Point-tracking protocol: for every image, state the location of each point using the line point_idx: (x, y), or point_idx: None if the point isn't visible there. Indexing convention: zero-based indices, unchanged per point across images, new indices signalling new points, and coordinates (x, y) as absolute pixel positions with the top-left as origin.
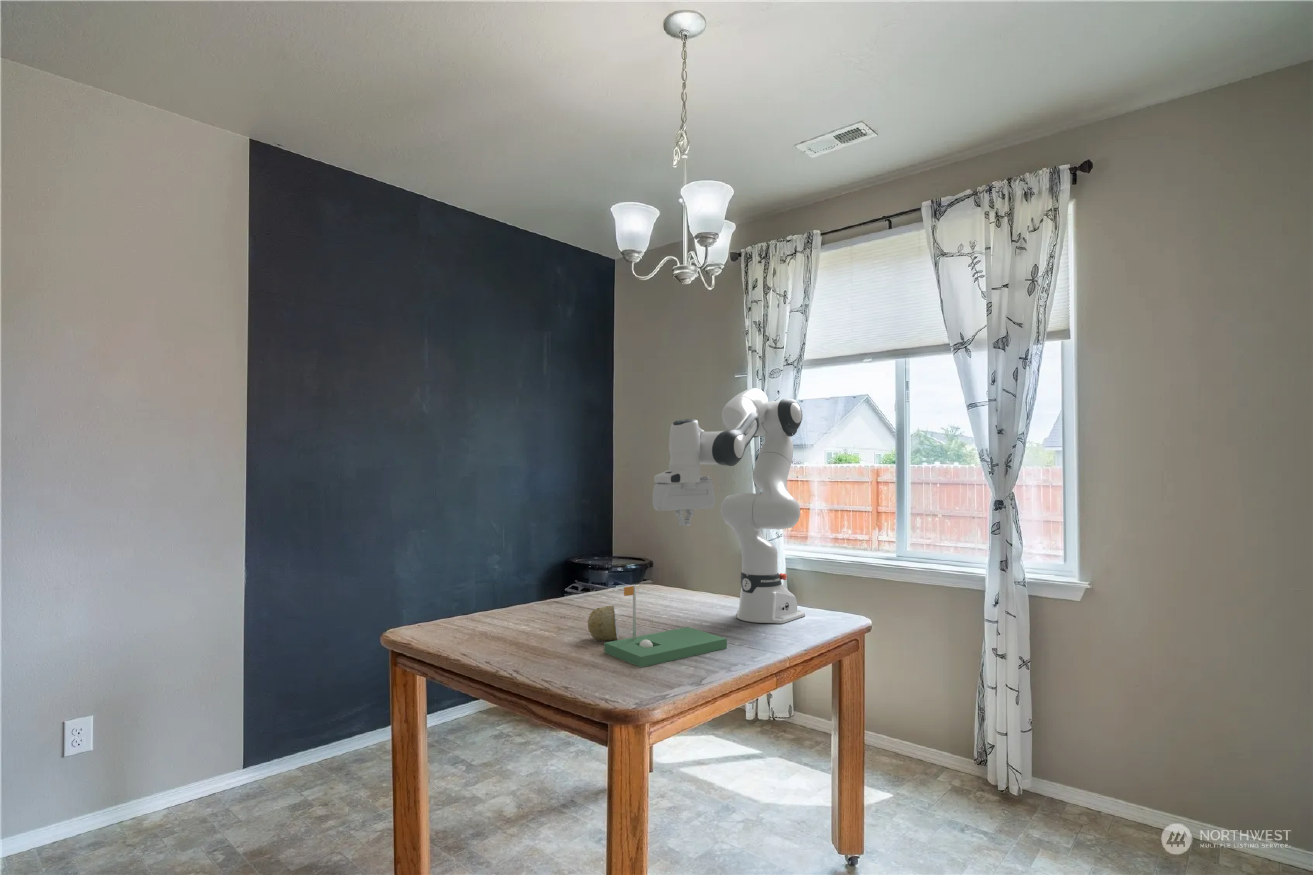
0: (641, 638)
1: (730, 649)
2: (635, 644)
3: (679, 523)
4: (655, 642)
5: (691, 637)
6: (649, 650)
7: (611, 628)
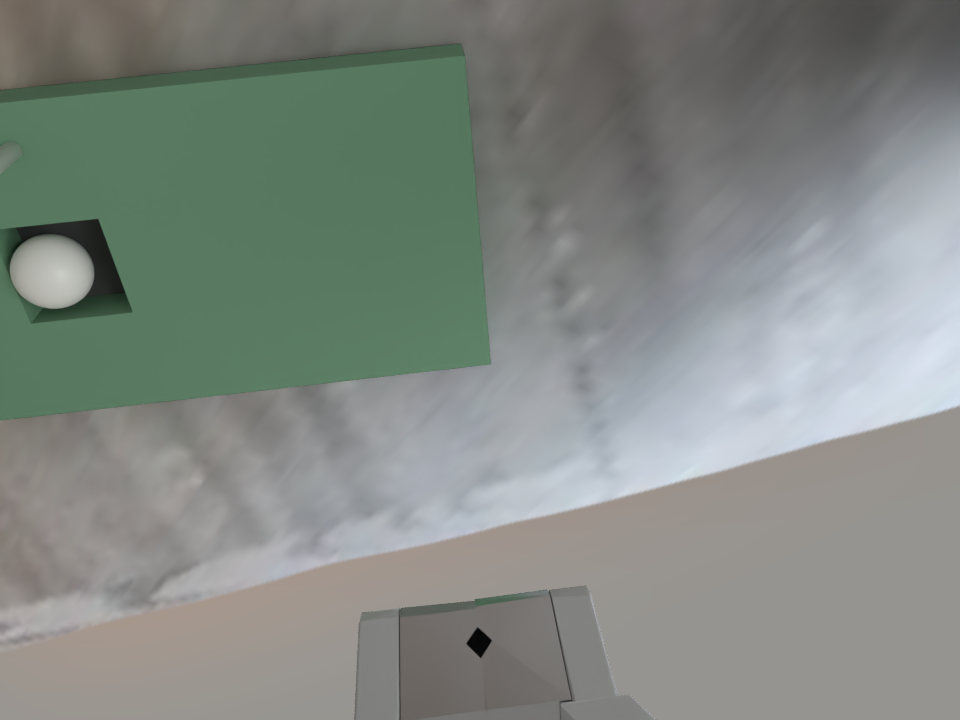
0: (64, 151)
1: None
2: None
3: (361, 662)
4: (117, 261)
5: (347, 269)
6: (36, 363)
7: None
